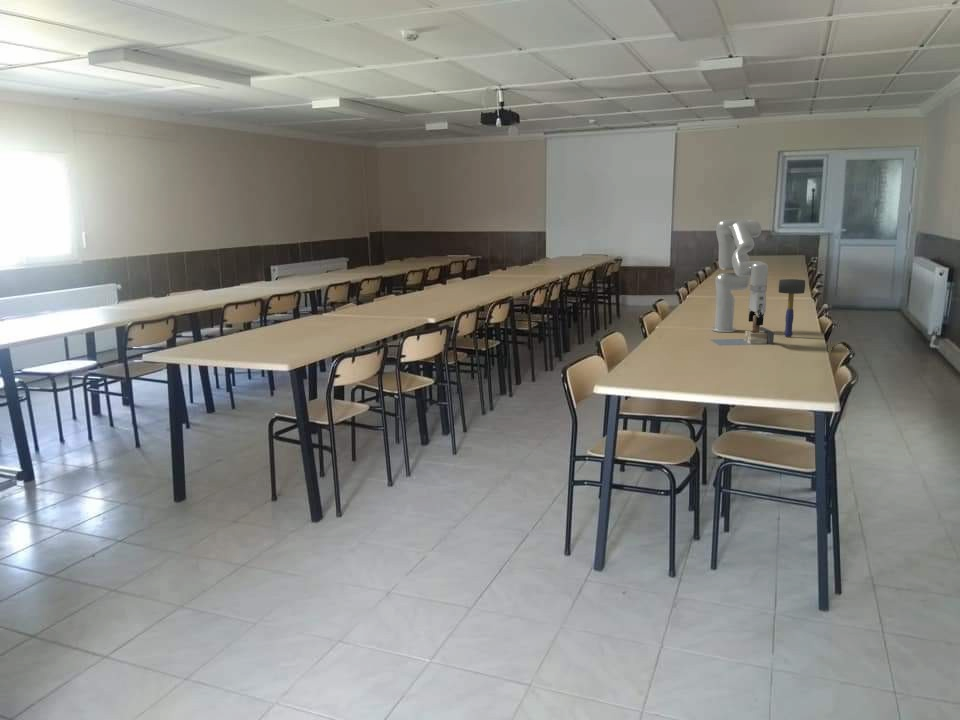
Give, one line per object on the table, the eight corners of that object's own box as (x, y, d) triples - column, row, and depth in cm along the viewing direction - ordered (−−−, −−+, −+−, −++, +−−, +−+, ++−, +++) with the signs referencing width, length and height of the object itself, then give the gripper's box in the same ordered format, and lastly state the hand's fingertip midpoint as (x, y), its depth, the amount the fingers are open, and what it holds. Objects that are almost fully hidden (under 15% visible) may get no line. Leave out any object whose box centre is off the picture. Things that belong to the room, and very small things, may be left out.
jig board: (709, 342, 354) (710, 327, 353) (761, 341, 354) (762, 326, 353) (719, 348, 340) (719, 333, 338) (772, 347, 339) (774, 332, 338)
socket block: (744, 340, 350) (745, 330, 349) (760, 340, 350) (761, 330, 348) (750, 343, 342) (750, 333, 341) (766, 343, 342) (767, 333, 341)
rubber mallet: (801, 336, 365) (805, 278, 359) (801, 338, 358) (805, 280, 352) (775, 335, 370) (779, 278, 364) (774, 337, 363) (778, 279, 357)
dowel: (751, 339, 347) (752, 315, 344) (757, 339, 347) (758, 315, 344) (753, 340, 344) (754, 316, 341) (760, 340, 344) (761, 316, 341)
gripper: (773, 291, 333) (770, 326, 337) (759, 286, 349) (756, 320, 353) (757, 291, 333) (754, 326, 337) (743, 286, 349) (741, 320, 354)
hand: (755, 323), depth 345 cm, fingers open, 9 cm apart
